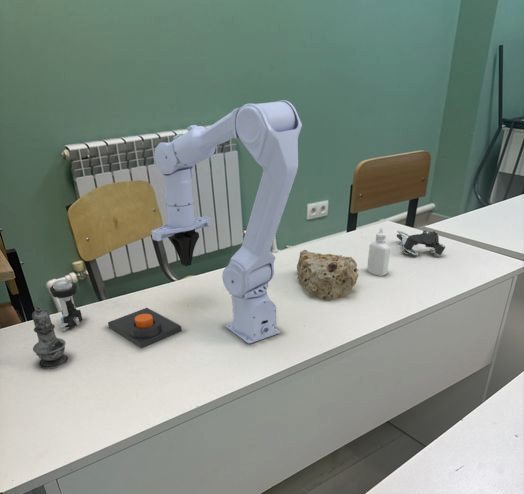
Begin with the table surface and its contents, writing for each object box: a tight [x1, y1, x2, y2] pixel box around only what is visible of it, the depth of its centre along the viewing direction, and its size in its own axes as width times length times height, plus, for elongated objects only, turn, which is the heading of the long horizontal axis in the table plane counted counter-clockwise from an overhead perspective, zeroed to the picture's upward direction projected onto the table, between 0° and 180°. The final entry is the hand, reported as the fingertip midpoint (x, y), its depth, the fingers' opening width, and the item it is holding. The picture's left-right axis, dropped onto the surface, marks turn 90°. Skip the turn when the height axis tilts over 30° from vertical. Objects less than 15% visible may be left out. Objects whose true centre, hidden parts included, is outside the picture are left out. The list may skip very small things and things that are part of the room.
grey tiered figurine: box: [31, 305, 69, 370], centre depth 90 cm, size 6×6×12 cm
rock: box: [296, 249, 359, 301], centre depth 121 cm, size 21×14×10 cm
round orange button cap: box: [135, 314, 153, 328], centre depth 99 cm, size 4×4×2 cm
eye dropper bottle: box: [366, 228, 391, 277], centre depth 126 cm, size 4×6×12 cm
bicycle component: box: [396, 230, 446, 257], centre depth 142 cm, size 12×7×15 cm
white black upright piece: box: [49, 278, 83, 332], centre depth 103 cm, size 7×5×10 cm
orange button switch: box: [107, 307, 182, 349], centre depth 103 cm, size 13×10×3 cm
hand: (186, 264), depth 108 cm, fingers closed
